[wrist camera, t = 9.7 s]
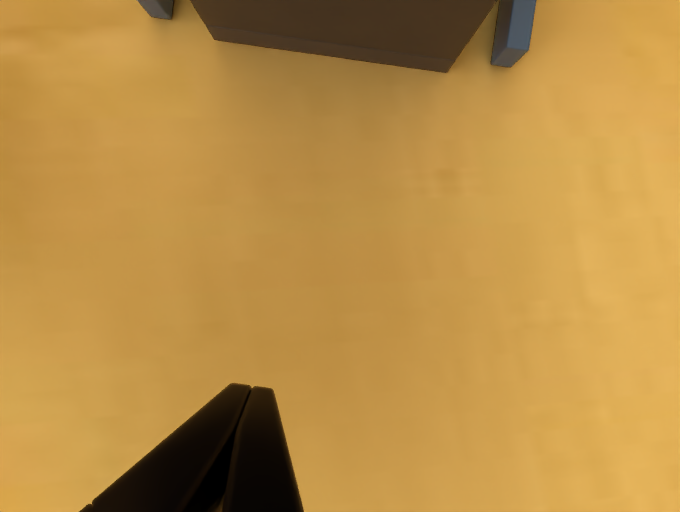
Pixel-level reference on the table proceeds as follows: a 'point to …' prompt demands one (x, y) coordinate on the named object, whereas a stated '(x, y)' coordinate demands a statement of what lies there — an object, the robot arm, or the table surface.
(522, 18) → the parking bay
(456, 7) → the coffee maker
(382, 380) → the table surface
